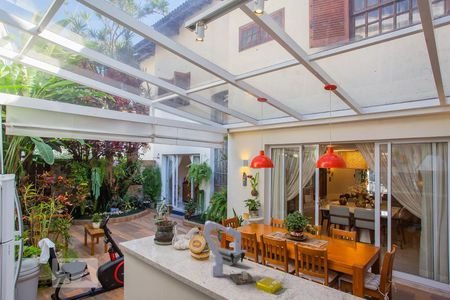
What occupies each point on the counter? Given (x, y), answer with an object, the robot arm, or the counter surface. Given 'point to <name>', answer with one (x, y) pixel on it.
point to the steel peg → (244, 276)
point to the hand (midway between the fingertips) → (237, 262)
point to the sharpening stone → (228, 256)
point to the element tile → (269, 285)
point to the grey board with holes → (239, 281)
